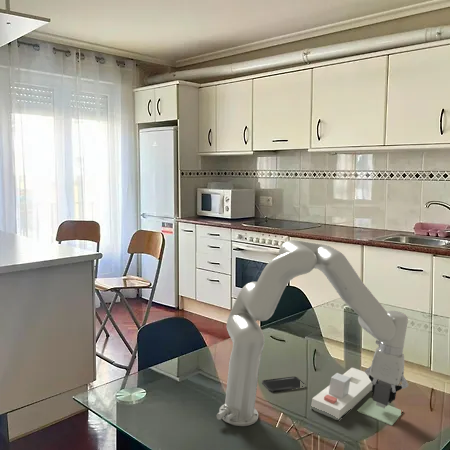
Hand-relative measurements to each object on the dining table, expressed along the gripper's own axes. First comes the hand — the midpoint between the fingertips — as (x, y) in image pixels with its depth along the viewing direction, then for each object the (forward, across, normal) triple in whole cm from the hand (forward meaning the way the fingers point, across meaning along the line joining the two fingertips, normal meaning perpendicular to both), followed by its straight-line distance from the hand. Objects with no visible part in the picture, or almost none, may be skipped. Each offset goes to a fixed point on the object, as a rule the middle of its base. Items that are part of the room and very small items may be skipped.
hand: (382, 397), depth 171 cm
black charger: (+3, 0, 0) cm, 3 cm away
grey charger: (+3, -13, -7) cm, 15 cm away
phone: (+6, -33, -9) cm, 35 cm away
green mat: (+5, 0, 0) cm, 5 cm away
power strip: (+5, -13, 0) cm, 14 cm away
